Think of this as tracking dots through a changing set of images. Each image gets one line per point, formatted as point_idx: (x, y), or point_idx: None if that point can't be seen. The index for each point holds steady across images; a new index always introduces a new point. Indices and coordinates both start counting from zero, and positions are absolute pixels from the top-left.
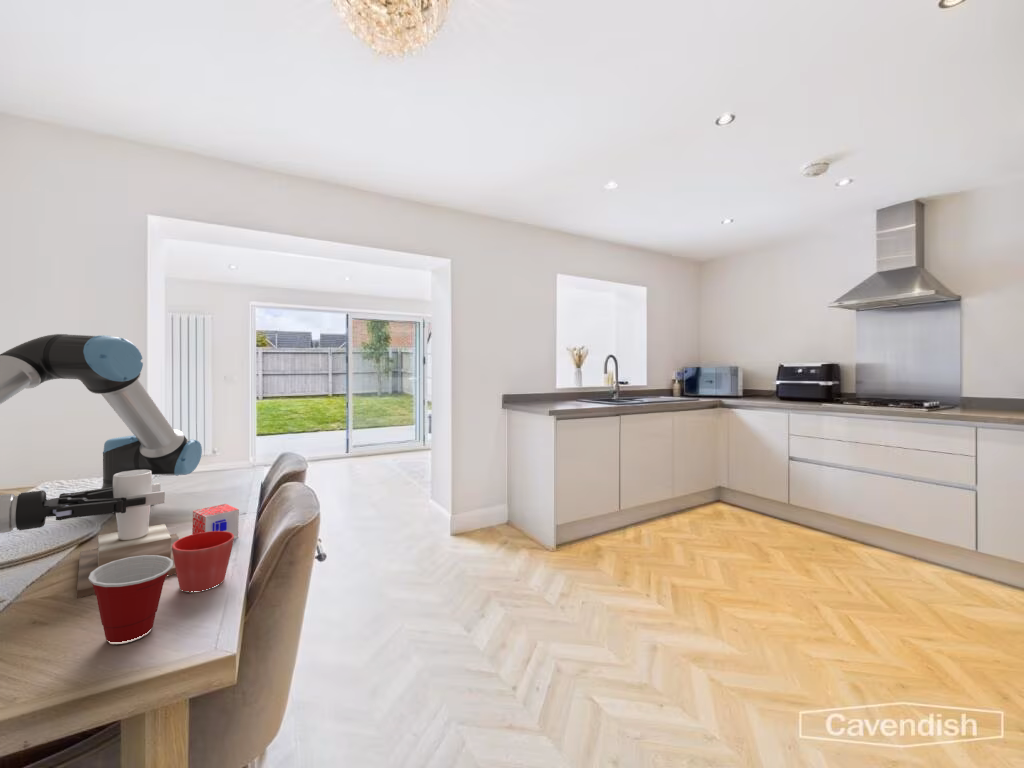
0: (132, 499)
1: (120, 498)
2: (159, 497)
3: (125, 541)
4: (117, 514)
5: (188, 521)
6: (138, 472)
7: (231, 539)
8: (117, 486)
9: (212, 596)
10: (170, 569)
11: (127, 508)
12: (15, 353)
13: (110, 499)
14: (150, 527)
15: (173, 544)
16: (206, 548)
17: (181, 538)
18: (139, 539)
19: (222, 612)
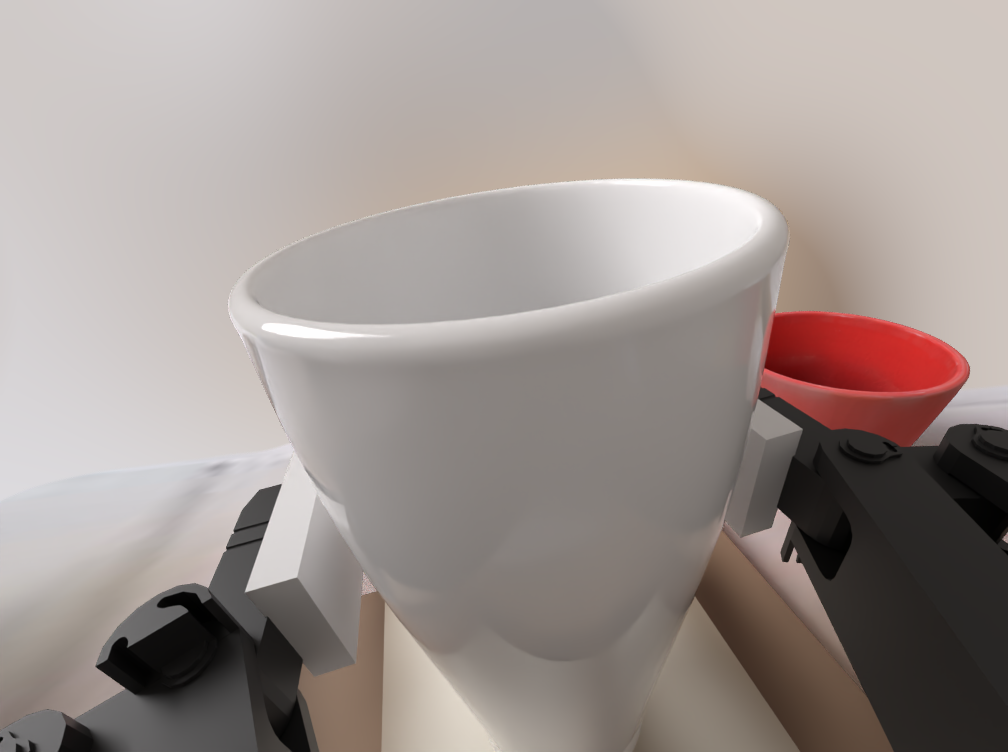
0: (789, 417)
1: (876, 467)
2: None
3: (647, 717)
4: (643, 697)
5: (96, 627)
6: (314, 283)
7: (809, 311)
8: (743, 435)
9: None
10: (732, 543)
11: (768, 520)
12: None
13: (984, 558)
14: (409, 634)
15: (917, 392)
16: (913, 329)
17: (835, 388)
18: None
19: (953, 407)
